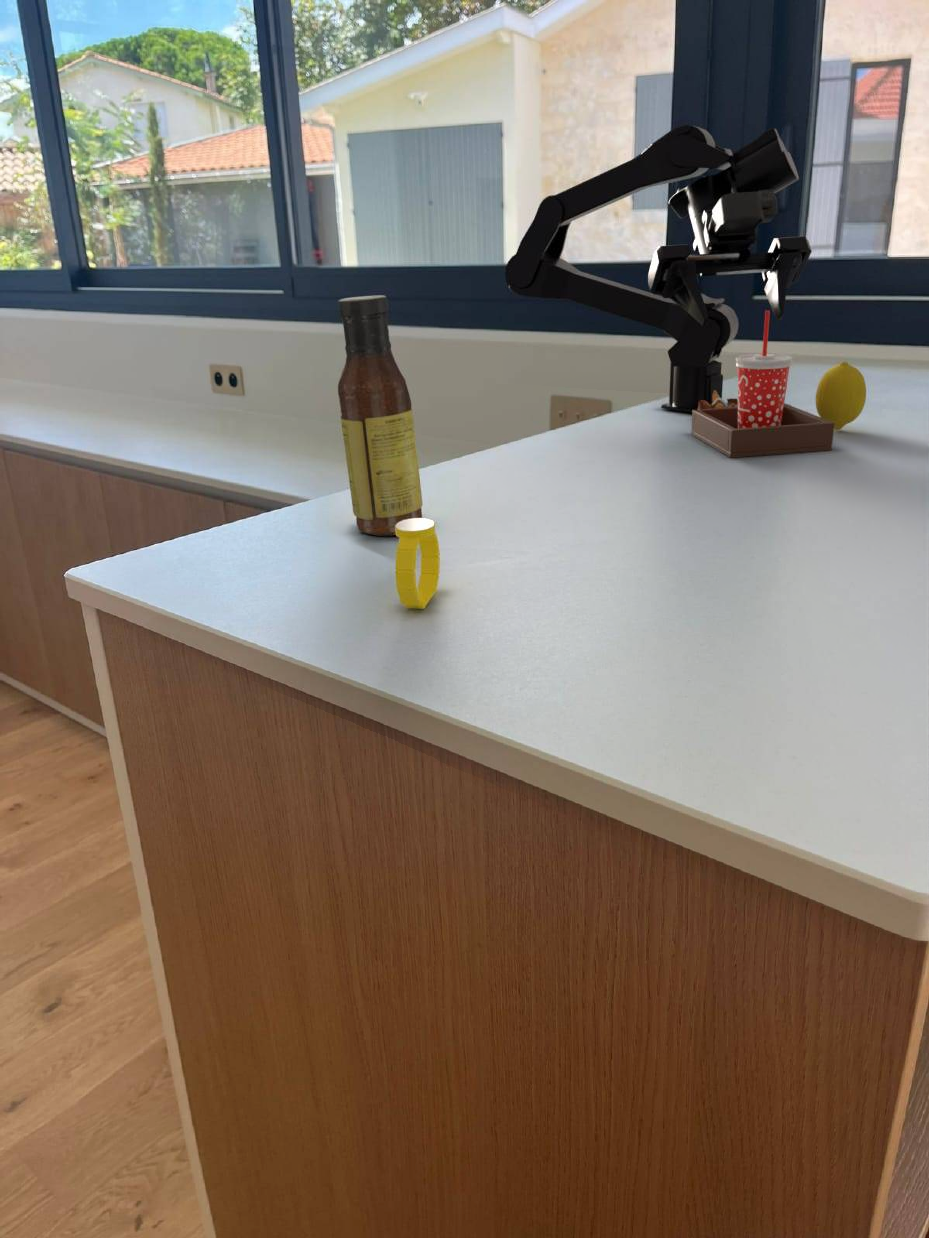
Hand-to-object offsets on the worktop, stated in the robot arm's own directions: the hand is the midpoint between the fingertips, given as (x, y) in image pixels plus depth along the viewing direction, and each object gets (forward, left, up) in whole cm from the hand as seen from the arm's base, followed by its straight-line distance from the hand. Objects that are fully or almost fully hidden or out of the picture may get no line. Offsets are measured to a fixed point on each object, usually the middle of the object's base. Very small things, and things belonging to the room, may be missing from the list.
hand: (743, 320), depth 112 cm
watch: (+21, -62, -13) cm, 66 cm away
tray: (+7, -5, -13) cm, 15 cm away
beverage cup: (+7, -5, -12) cm, 15 cm away
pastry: (-4, +4, -13) cm, 14 cm away
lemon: (+10, +6, -13) cm, 17 cm away
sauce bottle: (+4, -54, -13) cm, 55 cm away
